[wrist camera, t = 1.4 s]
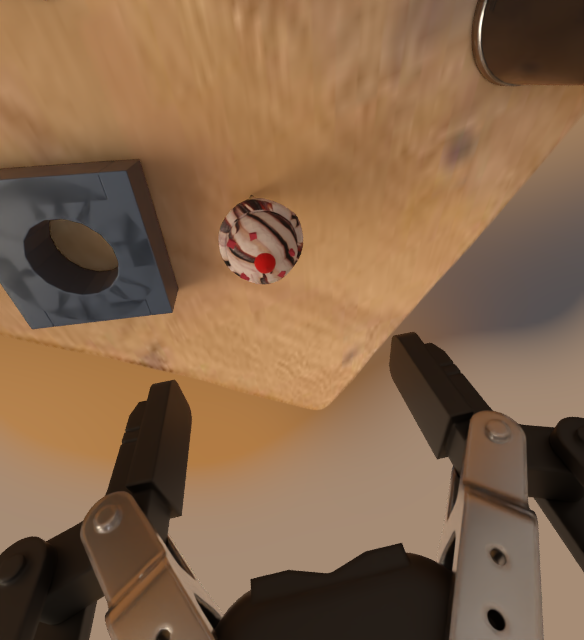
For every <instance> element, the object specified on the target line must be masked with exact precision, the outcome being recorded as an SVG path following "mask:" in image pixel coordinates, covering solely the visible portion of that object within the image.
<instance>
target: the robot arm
mask: <svg viewBox="0 0 584 640" xmlns="http://www.w3.org/2000/svg"><path fill="white" fill-rule="evenodd" d="M472 50H473V56H474V60H475V63H476V65H477V67H478V69H479V71H480V73H481V74H482V75H483V76H484V77H485V78H486V79H487V80H488V81H490V82H491V83H493V84H496V85H500V86H520V85H584V0H478V3H477V7H476V10H475V15H474V20H473V26H472ZM389 366H390V373H391V376H392V379H393V381H394V383H395V384H396V386H397V388H398V390H399V392H400V393H401V395H402V397H403V399H404V401H405V402H406V404H407V406H408V408H409V410H410V411H411V413H412V415H413V417H414V419H415V420H416V422H417V424H418V426H419V428H420V429H421V431H422V433H423V435H424V437H425V438H426V440H427V442H428V444H429V446H430V447H431V449H432V451H433V453H434V455H435V456H436V458H437V459H440V458H445V457H449V459H450V460H451V462H452V464H453V467H452V472H451V479H450V486H449V493H448V501H447V507H446V514H445V520H444V526H443V531H442V534H441V538H440V543H439V548H438V553H437V560H436V562H435V561H433V560H431V559H429V558H426V557H423V556H420V555H417V554H413V553H406V552H405V550H404V547H403V545H402V543H399V544H395V545H391V546H387V547H383V548H378V549H374V550H370V551H366V552H364V553H362V554H361V555H359V556H358V557H356V558H354V559H353V560H351V561H349V562H348V563H346V564H345V565H343V566H341V567H340V568H338V569H337V570H335V571H334V572H331V573H315V572H305V571H293V570H287V571H282V572H279V573H274V574H270V575H266V576H262V577H257V578H254V579H251V590H250V591H248V592H247V593H245V594H244V595H243V596H242V597H240V598H239V599H238V600H237V601H236V602H235V603H234V604H233V605H232V606H231V607H230V608H229V609H228V610H227V612H226V613H225V614H224V615H223V614H222V612H221V610H220V609H219V607H218V606H217V604H216V603H215V602H214V600H213V599H212V597H211V596H210V595H209V593H208V592H207V591H206V590H205V588H204V587H203V586H202V584H201V583H200V581H199V580H198V579H197V577H196V575H195V574H194V572H193V571H192V569H191V568H190V566H189V564H188V563H187V561H186V560H185V558H184V557H183V556H182V554H181V552H180V550H179V549H178V548H177V546H176V544H175V543H174V541H173V540H172V538H171V536H170V535H169V534H168V527H169V520H170V518H175V517H179V516H182V507H183V498H184V489H185V479H186V469H187V461H188V451H189V442H190V433H191V424H192V416H191V410H190V407H189V404H188V403H187V401H186V399H185V397H184V395H183V393H182V391H181V389H180V387H179V385H178V383H177V382H176V381H175V380H171V381H166V382H161V383H156V384H153V385H152V386H151V387H150V391H149V395H148V399H147V401H142V402H139V403H138V405H137V406H136V407H135V409H134V410H133V412H132V413H131V414H130V416H129V419H128V423H127V426H126V429H125V431H126V433H124V436H123V439H122V445H121V446H120V449H119V453H118V456H117V460H116V463H115V466H114V470H113V473H112V477H111V480H110V483H109V487H108V490H107V492H106V495H105V496H104V497H103V498H102V499H100V500H99V501H98V502H97V503H95V504H94V506H93V507H92V508H91V509H90V510H89V512H88V513H87V515H86V516H85V518H84V520H83V521H82V522H81V523H79V524H77V525H75V526H74V527H72V528H70V529H68V530H66V531H65V532H63V533H61V534H59V535H57V536H55V537H54V538H52V539H50V540H48V541H44V540H42V539H41V538H39V537H27V538H24V539H21V540H19V541H17V542H16V543H14V544H13V545H11V546H10V547H9V548H7V549H6V550H5V551H4V552H3V553H2V554H1V555H0V640H89V637H90V633H91V628H92V623H93V618H94V613H95V608H96V604H97V600H99V599H100V598H102V597H103V596H105V598H106V601H107V603H108V608H109V610H108V612H107V613H106V615H105V622H106V626H107V630H108V632H109V635H110V637H111V640H544V638H543V616H542V596H541V575H540V553H539V532H538V521H537V516H536V514H535V512H534V511H532V510H530V508H529V505H528V497H534V499H535V500H536V502H537V503H538V504H539V506H540V508H541V509H542V511H543V512H544V514H545V515H546V517H547V518H548V519H549V521H550V523H551V524H552V526H553V527H554V529H555V530H556V532H557V533H558V534H559V536H560V537H561V539H562V540H563V542H564V543H565V545H566V546H567V548H568V549H569V551H570V552H571V554H572V555H573V557H574V558H575V560H576V561H577V563H578V564H579V566H580V567H581V568H582V570H583V572H584V418H579V417H567V418H564V419H562V420H560V421H559V423H558V424H557V425H556V427H555V428H553V427H542V426H529V425H521V424H518V423H517V422H515V421H514V420H513V419H512V418H510V417H508V416H506V415H504V414H502V413H499V412H496V411H493V410H492V409H491V408H490V407H489V406H488V405H487V403H486V402H485V401H484V400H483V398H482V397H481V396H480V395H479V394H478V392H477V391H476V390H475V388H474V387H473V386H472V385H471V384H470V382H469V381H468V380H467V379H466V377H465V376H464V375H463V374H462V373H461V372H460V370H459V369H458V367H457V366H456V365H455V364H453V361H452V360H451V359H450V357H449V356H448V355H447V354H446V353H445V351H443V350H442V349H440V348H439V347H437V346H436V345H434V344H432V343H427V344H424V343H423V342H422V341H421V339H420V338H419V336H418V335H417V334H416V333H415V332H410V333H405V334H400V335H395V336H393V337H392V342H391V353H390V363H389Z"/></svg>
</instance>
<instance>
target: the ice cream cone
mask: <svg viewBox="0 0 584 640" xmlns="http://www.w3.org/2000/svg"><path fill="white" fill-rule="evenodd" d="M302 247H303V233H302V228H301V225H300V222H299V220H298V217H297V216H296V215H295V213H294V212H292V211H291V210H289V209H288V208H286V207H285V206H283V205H281V204H279V203H277V202H274V201H271V200H267V199H263V198H255V197H254V196H252V195H251V196H250V197H249V199H248V200H245V201H243V202H241V203H239V204H238V205H236V206H235V207H234V208H233V209H231V211H230V212H229V213H228V214H227V216H226V217H225V219H224V221H223V222H222V224H221V227H220V230H219V248H220V253H221V256H222V259H223V260H224V262H225V264H226V265H227V266H228V267H229V269H230V270H231V271H232V272H234V273H235V274H236V275H238V276H240V278H243V279H245V280H247V281H249V282H253V283H256V284H270V283H274V282H276V281H278V280H280V279H282V278H283V277H284V276H286V275H287V274H288V273H289V272H290V270H291V269H292V268H293V267H294V265H295V264H296V262H297V261H298V259H299V257H300V255H301V251H302Z"/></svg>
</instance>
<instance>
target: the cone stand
mask: <svg viewBox="0 0 584 640" xmlns="http://www.w3.org/2000/svg"><path fill="white" fill-rule="evenodd" d="M55 219H65V220H69V221H73V222H77V223H81V224H84V225H85V226H87V227H89V228H90V229H92V230H94V231H95V232H97V233H99V234H100V235H101V236H102V237H103V238H104V239H105V240H106V241H107V242H108V243H109V244H110V246H111V247H112V248H113V250H114V253H115V255H116V258H117V260H118V267H117V268H115V269H114V270H111V271H101V272H97V271H93V270H88V269H83V268H81V267H79V266H78V265H76V264H74V263H72V262H70V261H68V260H67V259H66V258H65V257H64V256H63V255H62V254H61V253H60V252H59V251H58V250H57V249H56V247H55V245H54V243H53V241H52V239H51V238H50V233H49V221H50V220H55ZM0 283H1V285H2V286H3V288H4V289H5V291H6V292H7V294H8V295H9V297H10V298H11V299H12V301H13V302H14V304H15V305H16V307H17V308H18V310H19V311H20V313H21V314H22V316H23V317H24V318H25V320H26V321H27V323H28V324H29V326H30V327H31V329H39V328H47V327H54V326H55V327H56V326H64V325H72V324H81V323H89V322H97V321H106V320H114V319H123V318H131V317H139V316H148V315H151V314H152V315H156V314H165V313H172V312H173V309H174V305H175V301H176V296H177V292H178V286H177V283H176V280H175V276H174V273H173V270H172V266H171V263H170V260H169V256H168V253H167V250H166V246H165V243H164V239H163V236H162V233H161V229H160V226H159V223H158V219H157V216H156V213H155V209H154V206H153V203H152V199H151V196H150V192H149V189H148V186H147V182H146V179H145V176H144V172H143V169H142V166H141V162H140V160H139V159H133V160H118V161H104V162H89V163H75V164H61V165H46V166H32V167H18V168H3V169H0Z"/></svg>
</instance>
